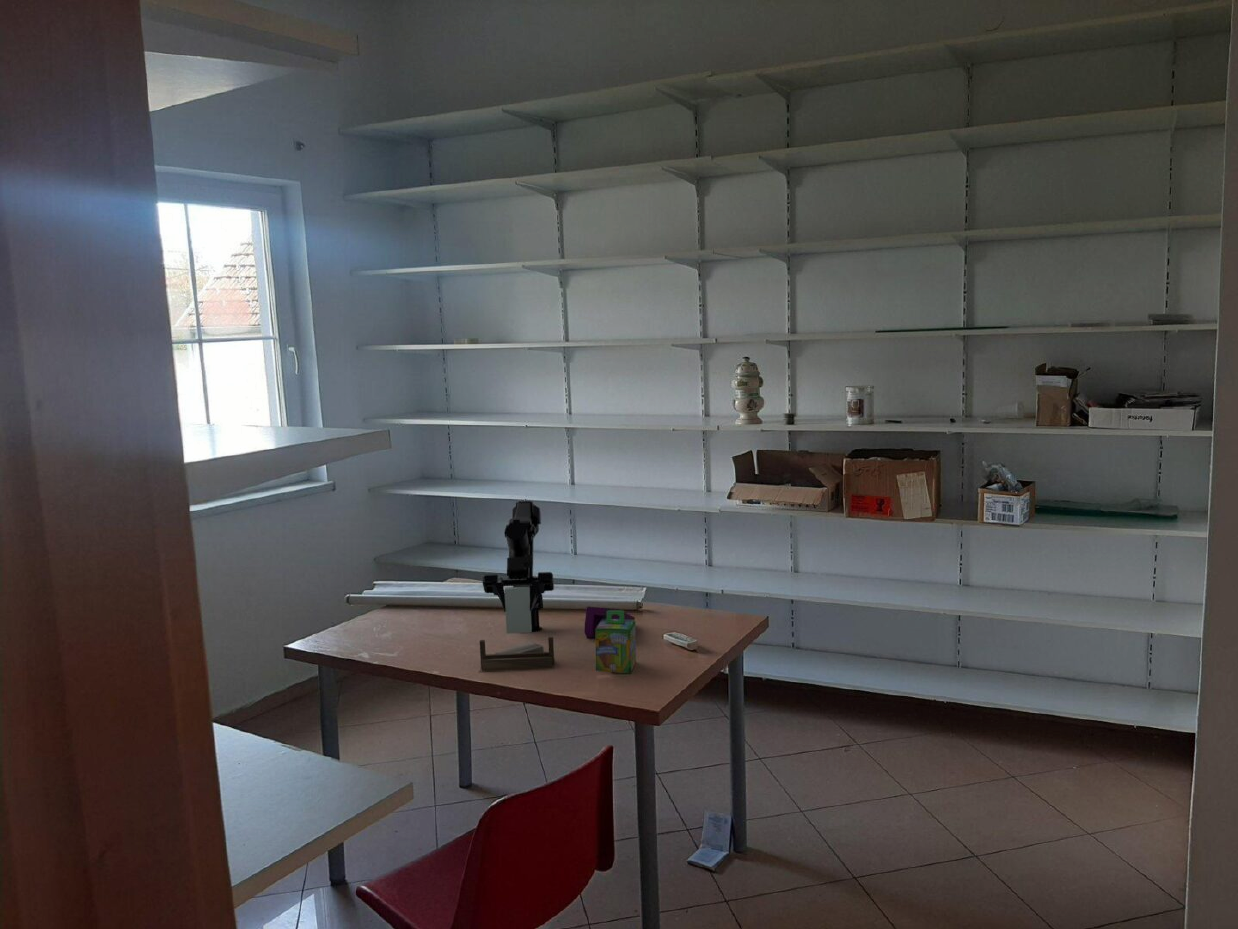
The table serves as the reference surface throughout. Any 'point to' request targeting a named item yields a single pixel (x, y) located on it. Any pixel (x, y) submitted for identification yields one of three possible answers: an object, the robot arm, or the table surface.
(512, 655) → the walnut rack
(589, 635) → the mounting bracket
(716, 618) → the table surface
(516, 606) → the sage panel
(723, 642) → the table surface
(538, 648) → the upper offcut
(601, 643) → the chalk box
